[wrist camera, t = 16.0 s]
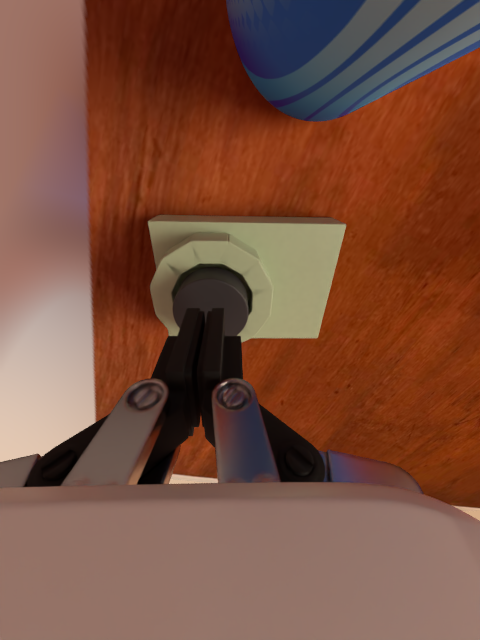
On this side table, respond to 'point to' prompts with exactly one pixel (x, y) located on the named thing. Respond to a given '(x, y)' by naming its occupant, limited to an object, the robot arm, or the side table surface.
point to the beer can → (346, 48)
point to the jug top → (251, 266)
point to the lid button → (213, 297)
